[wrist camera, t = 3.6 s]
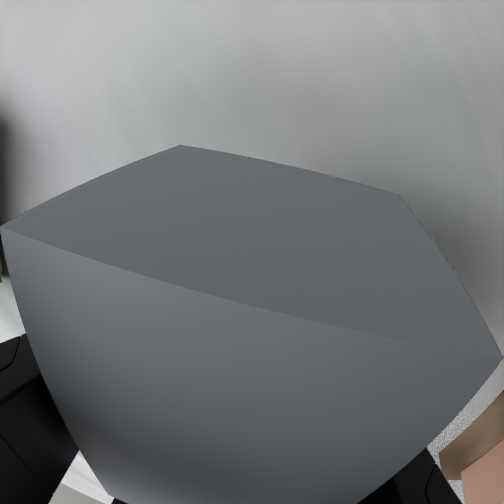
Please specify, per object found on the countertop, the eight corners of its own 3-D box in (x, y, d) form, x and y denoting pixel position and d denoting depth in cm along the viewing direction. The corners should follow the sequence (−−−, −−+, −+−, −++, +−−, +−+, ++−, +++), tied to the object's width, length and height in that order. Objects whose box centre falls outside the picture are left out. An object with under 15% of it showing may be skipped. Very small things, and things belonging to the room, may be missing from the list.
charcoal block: (305, 416, 10) (284, 546, 6) (168, 379, 11) (108, 494, 6) (399, 195, 6) (504, 357, 2) (180, 145, 7) (-2, 226, 3)
